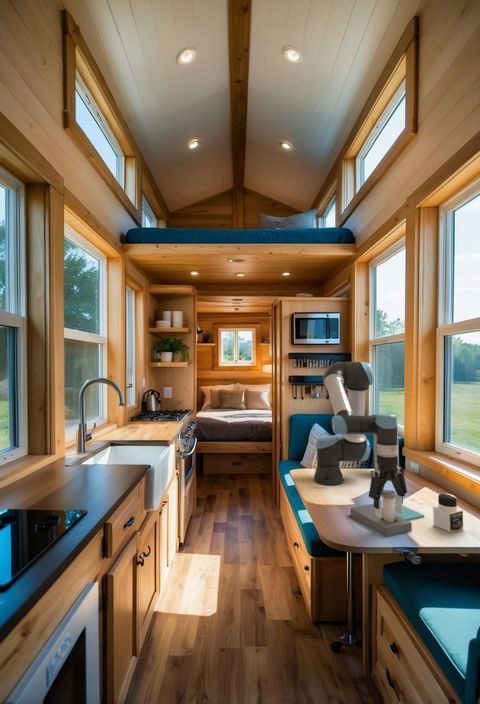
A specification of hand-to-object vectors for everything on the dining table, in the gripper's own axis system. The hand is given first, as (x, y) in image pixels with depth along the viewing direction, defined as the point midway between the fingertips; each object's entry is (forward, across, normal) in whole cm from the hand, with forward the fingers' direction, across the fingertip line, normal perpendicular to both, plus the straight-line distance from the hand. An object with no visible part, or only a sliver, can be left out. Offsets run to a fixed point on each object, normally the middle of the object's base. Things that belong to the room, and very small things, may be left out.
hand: (388, 514), depth 136 cm
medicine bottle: (+5, +21, -8) cm, 23 cm away
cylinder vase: (+5, +44, +48) cm, 65 cm away
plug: (+5, 0, 0) cm, 5 cm away
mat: (+5, +14, +8) cm, 17 cm away
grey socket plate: (+5, 0, +5) cm, 7 cm away
